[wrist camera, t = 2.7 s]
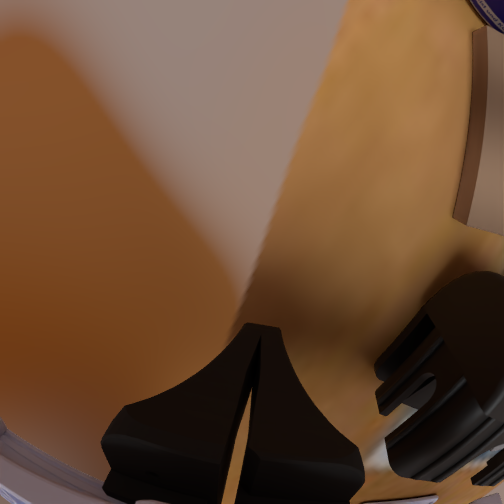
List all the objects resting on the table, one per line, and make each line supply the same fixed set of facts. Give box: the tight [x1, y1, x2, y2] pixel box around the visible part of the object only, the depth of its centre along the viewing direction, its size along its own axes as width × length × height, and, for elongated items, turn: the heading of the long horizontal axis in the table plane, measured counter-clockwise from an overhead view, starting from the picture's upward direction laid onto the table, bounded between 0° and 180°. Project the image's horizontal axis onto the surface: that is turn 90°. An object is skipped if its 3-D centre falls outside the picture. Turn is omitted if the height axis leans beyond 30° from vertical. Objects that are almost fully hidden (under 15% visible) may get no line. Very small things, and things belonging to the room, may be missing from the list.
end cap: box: [374, 271, 504, 486], centre depth 9 cm, size 10×7×7 cm
